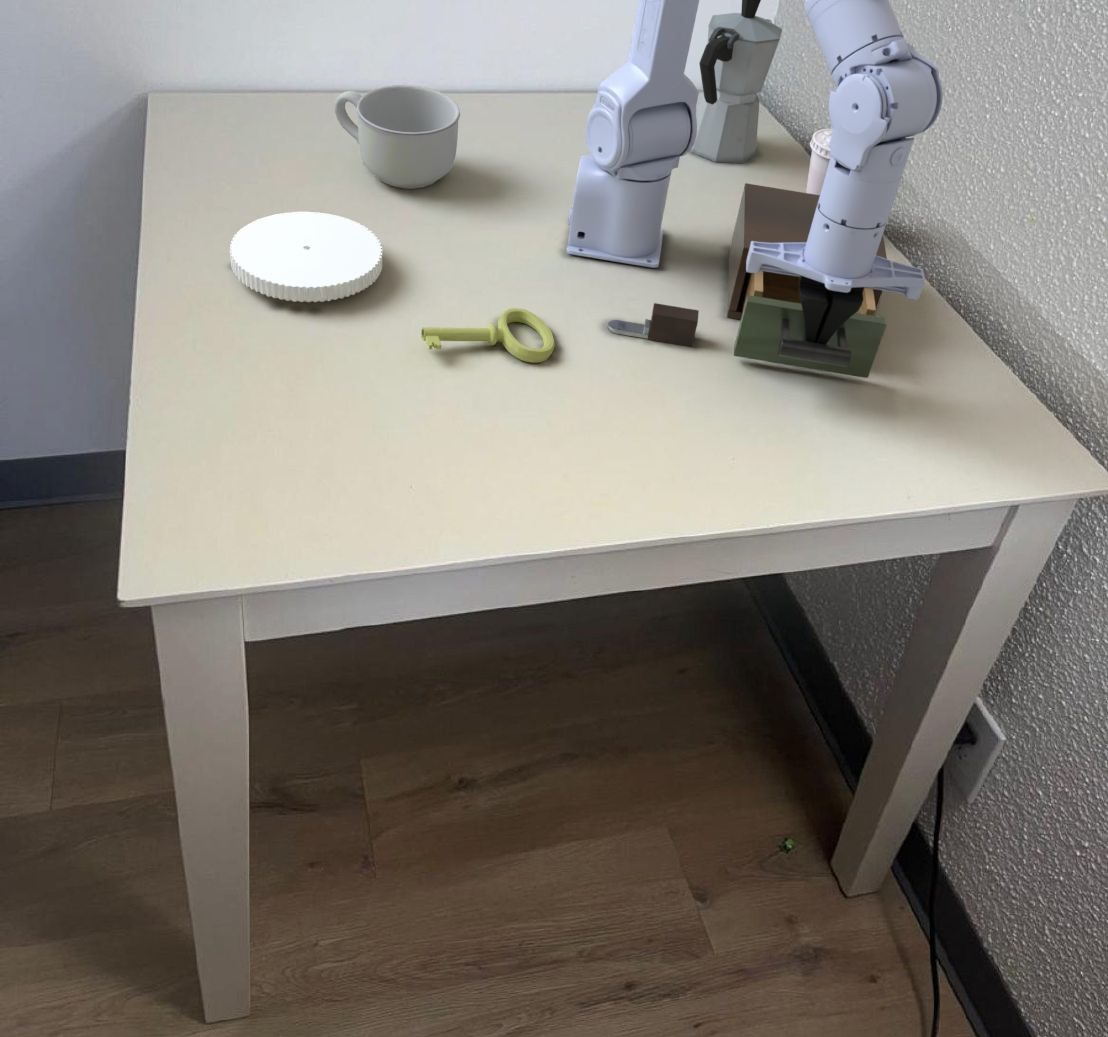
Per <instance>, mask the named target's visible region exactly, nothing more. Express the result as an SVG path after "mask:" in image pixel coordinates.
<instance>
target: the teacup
mask: <svg viewBox="0 0 1108 1037" xmlns="http://www.w3.org/2000/svg"><path fill="white" fill-rule="evenodd" d="M347 102H348V103H351V104H352V105H353V106H354V107H355V108H356V114H357V124H356V123H355V122H354V121H353V120H352V118H351V117H350V115H349V114H348V113H347V112H348V111H347V110H346V103H347ZM333 108H334V115H335V117H336V120H337V121H338V123H339V125H340V126H341V127H342V129H343V130H345V132H347V134H348V135H350V136H351V137H352V138H353V139H354V140H356V142H357V144H358V146H359V147H358V148H359V155H360V158H361V161H362V163H363V165H364V166H365V168H366V169H367V170H368V171H369V172H370V173H371V174H372V175H373V176H375V177H376V178H378V179H379V181H381V182H383V183H385V184H386V185H388V186H391V187H395V188H398V189H408V190H414V189H421V188H426V187H428V186H431V185H433V184H434V183H436V182H437V181H438V180H440V179H442V178H443V177H444V176H446V175H447V174H448V173H449V172H450V170H451V169H452V167H453V165H454V163H455V160H456V157H457V156H456V155H457V148H458V147H457V146H458V136H459V135H458V134H459V120H460V117H461V111H460V107H459V104H457V103H456V101H455V100H454V99H452V97H450V96H449V95H447V94H445V93H443V92H441V91H438V90H436V89H433V88H430V87H427V86H420V85H414V84H413V85H411V84H394V85H387V86H381V87H378V88H374V89H373V90H370V91H368V92H367V93H364V95H361V94H360V93H358V92H356V91H353V90H347V91H343V92H342V93H340V94H339V95H338V96H337V98H336V99H335V101H334V106H333Z"/></svg>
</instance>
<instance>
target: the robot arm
mask: <svg viewBox="0 0 1108 1037" xmlns="http://www.w3.org/2000/svg"><path fill="white" fill-rule="evenodd" d="M699 4H700V0H637V4H636V9H635V16H634V21H633V27H632V33H631V38H630V44H629V50H628V55H627V60H626V61H625V62H624V63H623V64H622V65H620V67H618V68H617V69H616V70H615V71H614V72H612V73H611V74H610V75H609V76H607V78H605V79H603V81H602V82H601V83H599V85H598V88H597V95H596V99H595V102H594V104H593V106H592V108H591V109H590V111H589V113H588V116H587V118H586V119H587V120H586V122H585V123H586V124H585V141H586V142H585V143H586V146H587V150H588V152H589V154H582V155H581V156H580V159H579V164H578V168H577V172H576V173H577V174H576V179H575V185H574V193H573V200H572V201H573V202H572V207H570V209H569V215H568V223H567V225H568V226H569V231H568V239H567V246H566V253H567V254H569V255H574V256H579V257H586V258H592V259H598V260H602V261H610V262H616V263H621V264H628V265H634V266H640V267H646V268H652V269H656V268H658V267H659V265H660V260H661V253H662V244H663V238H664V237H663V236H664V229H663V228H662V225H663V219H664V214H665V210H666V203H667V197H668V192H669V188H670V183H671V176H672V171H673V170H674V169H677V168H679V164H680V158H681V157H684V156H686V155H687V154H689V153H690V152H691V149H692V147H693V145H694V142H695V139H696V135H697V118H696V109H697V105H698V104H697V103H698V99H699V94H700V92H699V90H698V88H697V87H696V85H695V84H694V82H693V81H692V80H691V79H690V78H689V77H688V76H687V75H686V74H685V71H686V66H687V61H688V57H689V53H690V47H691V42H692V38H693V32H694V28H695V24H696V18H697V14H698V8H699ZM803 8H804V11H805V14H806V16H807V19H808V21H809V24H810V26H811V29H812V31H813V33H814V36H815V39H816V40H817V43H818V46H819V48H820V50H821V53H822V55H823V58H824V60H825V63H826V65H827V68H828V70H829V73H830V75H831V77H832V81H833V82H834V85H835V87H836V89H834V90H831V91H830V94H829V100H828V113H829V119H830V120H829V121H830V123H831V129H832V136H831V140H830V144H829V148H830V149H831V151H830V155H831V158H830V161H829V165H828V168H827V172H826V175H825V179H824V183H823V186H822V190H821V193H820V197H819V200H818V204H817V207H816V211H815V214H814V218H813V221H812V225H811V228H810V232H809V236H808V239H807V242H798V243H765V242H755V241H751V244H750V248H749V252H748V256H747V260H746V272H749V273H755V274H757V273H759V271H760V270H761V271H767V272H773V273H779V274H785V275H791V276H797V277H798V278H799V295H800V300H801V305H802V310H803V316H804V333H803V340H802V341H807V342H813V343H819V344H825V345H826V344H827V343H828V341H829V340H830V338H831V337H832V336H833V334H834V333H835V332H836V331H837V330H838V329H839V327H840V326H841V325H842V324H843V323H844V322H845V321H846V320H848V319H849V318H850V317H851V316H852V315H854V314H855V313H856V312H858V310H859V309H860V307H861V305H862V302H863V290H864V287H865V288H871V289H877V290H883V291H885V292H891V293H896V294H903V295H904V297H905V298H906V299H909V300H915V301H918V300H919V299H920V296H921V293H922V291H923V287H924V285H925V283H926V276H925V271H924V269H923V268H921V267H915V266H911V265H907V264H903V263H901V262H897V261H894V260H892V259H888V258H887V259H885V258H882V257H879V256H876V254H877V251H878V248H879V245H880V242H881V238H882V235H883V236H884V232H885V229H886V226H887V223H888V220H889V217H890V215H891V211H892V208H893V206H894V202H895V199H896V196H897V193H898V190H899V188H900V185H901V180H902V177H903V175H904V172H905V169H906V165H907V162H908V160H909V157H910V153H911V150H912V147H913V144H914V141H915V137H914V136H916V135H919V134H921V133H924V132H926V131H927V130H928V129H930V128H931V127H932V126H933V125H934V123H935V122H936V121H937V119H938V117H939V116H940V113H941V109H942V105H943V96H944V95H943V84H942V80H941V79H940V73H939V69H938V67H937V66H936V64H935V63H934V62H933V61H932V60H930V59H929V58H928V57H926V56H924V55H922V54H919V53H918V52H917V51H916V50H915V49H916V48H915V47H914V45H913V44H912V45H911V44H910V43H909V42H907V40H906V39H905V37H904V35H903V32H902V30H901V27H900V24H899V22H898V20H897V18H896V15H895V12H894V10H893V7H892V5H891V3H890V1H889V0H805V1H804V6H803ZM883 291H882V292H883Z"/></svg>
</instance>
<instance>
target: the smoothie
mask: <svg viewBox="0 0 1108 1037" xmlns="http://www.w3.org/2000/svg"><path fill="white" fill-rule="evenodd" d="M831 136H832V128H822V129H819V130H817V131H815V132H814V133H813V134H812V137H811V140H810V142H809V146H810V148H811V154H810V161H809V169H808V175H807V184H806V189H805V190H806V191H805V193H809V194H815V195H820V193H821V190H822V186H823V183H824V179H825V175H826V172H827V168H828V165H829V161H830V158H831V155H830V151H831V149H830V148H829V144H830V140H831Z"/></svg>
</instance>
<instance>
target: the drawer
mask: <svg viewBox="0 0 1108 1037" xmlns="http://www.w3.org/2000/svg"><path fill="white" fill-rule="evenodd" d="M876 312H877V309H876V306H875V299H874V292H873V289H871V288H865V287H864V290H863V302H862V305H861V307H860V309H859V310H858V312H856V313H855V314H854V315H852V316H851V317H850V318H849V319H848V320H846V321H845V322H844V323H843V324H842V325H841V326H840V327H839V329H838V330H837V331H836V332H835V333H834V334H833V336H832V337H831V338H830V340H829V341H828V343H827V344H826V345H825V344H819V343H813V342H807V341H802V340H803V333H804V316H803V310H802V305H801V300H800V295H799V278H798V277H797V276H791V275H785V274H779V273H773V272H767V271H761V270H760V271H759V273H757V274H755V273H749V272H746V276H745V280H744V284H743V314H742V318H741V319H740V322H739V326H738V330H737V333H736V338H735V342H734V346H733V354H732V355H733V356H734V357H738V358H745V359H751V360H756V361H763V362H768V363H773V364H780V365H786V366H793V367H799V368H803V369H810V370H817V371H821V372H822V371H823V372H828V373H834V374H840V375H847V376H853V377H859V378H865V379H868V378H869V377H870V374H871V371H872V368H873V364H874V362H875V359H876V357H877V353H878V351H879V348H880V345H881V342H882V339H883V336H884V334H885V331H886V329H887V317H883V316H879V315H878V316H877V315H876Z"/></svg>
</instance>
